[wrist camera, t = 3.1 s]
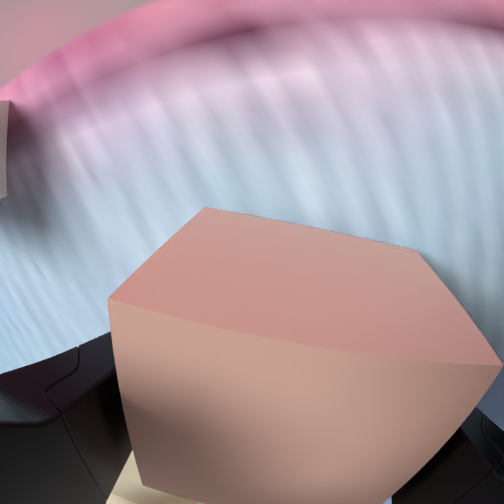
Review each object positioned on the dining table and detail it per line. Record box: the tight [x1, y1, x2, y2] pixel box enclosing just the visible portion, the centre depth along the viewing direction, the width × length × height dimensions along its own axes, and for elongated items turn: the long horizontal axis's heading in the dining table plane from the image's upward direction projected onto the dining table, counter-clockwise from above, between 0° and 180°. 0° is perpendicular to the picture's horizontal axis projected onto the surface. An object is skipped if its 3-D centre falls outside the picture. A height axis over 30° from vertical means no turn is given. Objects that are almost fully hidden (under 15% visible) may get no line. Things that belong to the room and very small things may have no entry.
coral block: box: [108, 207, 504, 504], centre depth 7 cm, size 6×6×5 cm
